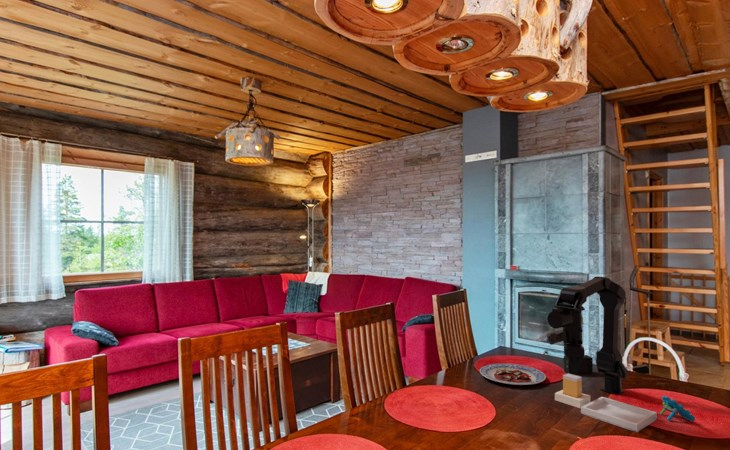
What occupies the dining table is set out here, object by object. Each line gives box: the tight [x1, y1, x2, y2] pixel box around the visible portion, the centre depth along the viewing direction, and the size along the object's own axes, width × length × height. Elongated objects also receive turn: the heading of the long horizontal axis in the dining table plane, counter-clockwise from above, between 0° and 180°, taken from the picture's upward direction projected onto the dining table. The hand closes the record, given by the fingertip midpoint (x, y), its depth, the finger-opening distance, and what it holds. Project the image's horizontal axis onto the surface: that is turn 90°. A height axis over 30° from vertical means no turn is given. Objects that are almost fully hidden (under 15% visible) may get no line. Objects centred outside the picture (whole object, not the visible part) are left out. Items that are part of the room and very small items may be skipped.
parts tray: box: [580, 396, 658, 433], centre depth 144 cm, size 15×17×2 cm
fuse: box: [562, 373, 583, 398], centre depth 157 cm, size 4×5×9 cm
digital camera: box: [562, 354, 594, 375], centre depth 189 cm, size 10×5×7 cm, turn 93°
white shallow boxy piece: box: [554, 389, 591, 409], centre depth 157 cm, size 8×9×2 cm
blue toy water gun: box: [659, 395, 696, 423], centre depth 142 cm, size 11×6×10 cm
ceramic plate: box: [479, 363, 547, 386], centre depth 182 cm, size 26×26×3 cm
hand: (573, 368), depth 154 cm, fingers open, 9 cm apart
